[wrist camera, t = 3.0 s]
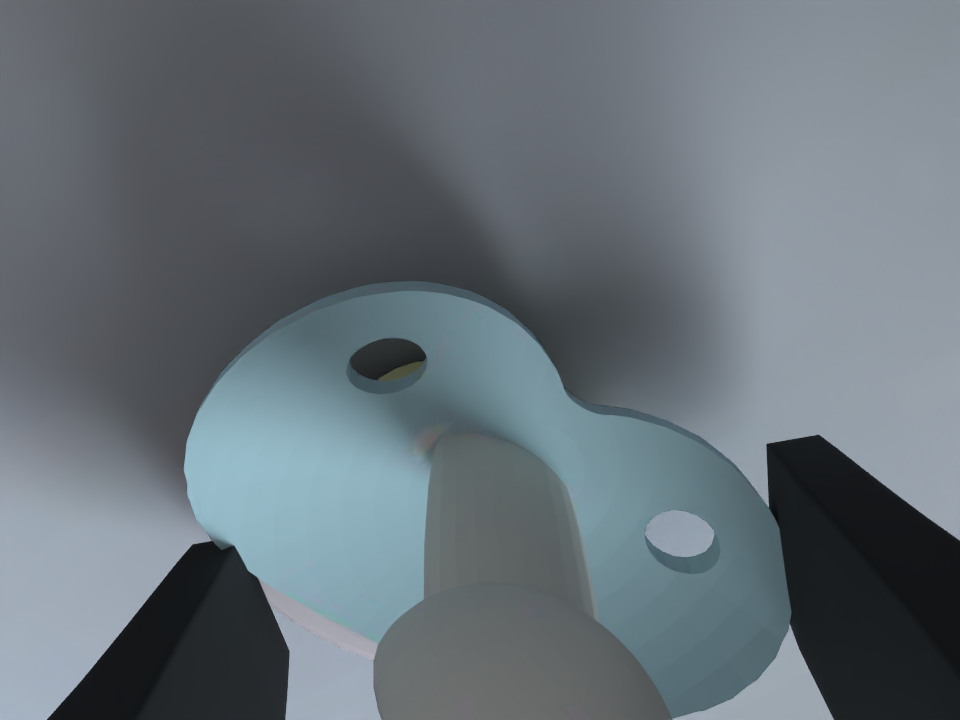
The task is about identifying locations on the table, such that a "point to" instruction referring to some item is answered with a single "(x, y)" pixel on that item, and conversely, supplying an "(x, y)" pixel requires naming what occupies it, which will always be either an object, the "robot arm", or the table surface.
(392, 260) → the table surface
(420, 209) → the table surface
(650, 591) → the pacifier
